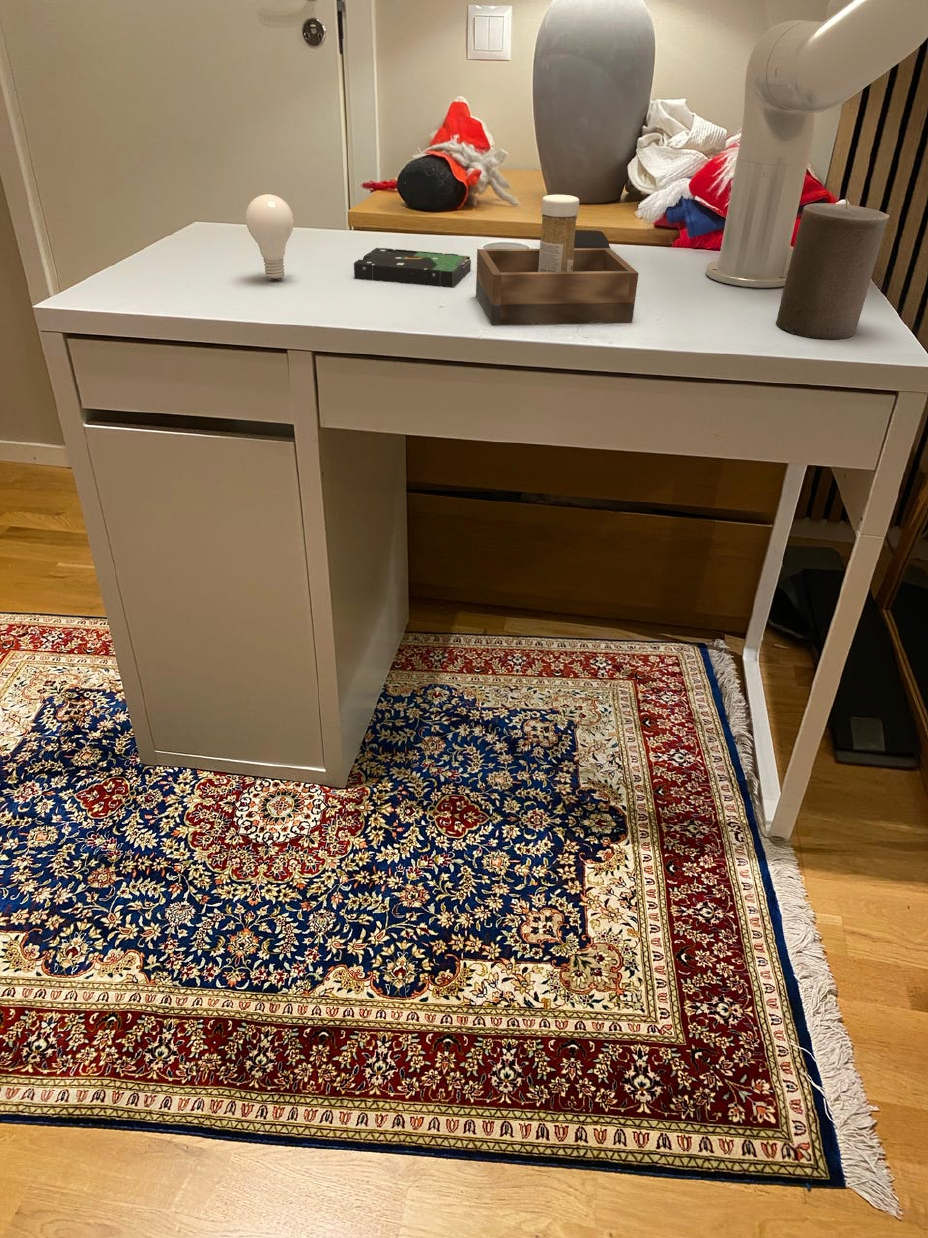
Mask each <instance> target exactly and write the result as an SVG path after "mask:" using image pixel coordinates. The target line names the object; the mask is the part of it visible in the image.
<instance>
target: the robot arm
mask: <svg viewBox="0 0 928 1238" xmlns="http://www.w3.org/2000/svg"><path fill="white" fill-rule="evenodd" d="M825 17H826V18H825V20H824V21H816V20H807V19H806V20H804V19H792V20H788V21H783V22H780V23H778V24H776V25H775V26H771V27H770V29H768V30H766V32H765V33H763V35H762V36H761V37H760V38H759V40H758V41H757V42H756V43H755V45H754V47H753V49H752V51H751V53H750V56H749V59H748V63H747V66H746V73H745V83H744V105H743V106H744V107H743V118H742V127H741V132H740V133H741V134H740V139H739V143H738V151H737V157H736V161H735V167H734V174H733V178H732V184H731V190H730V194H729V201H728V207H727V212H726V216H725V217H726V218H725V222H724V229H723V235H722V240H721V244H720V245H721V246H720V252H719V257H718V260H715V261H712V262H711V261H710V263H708V264H707V265H706V268H705V269H706V271H705V273H706V275H707V276H708V277H709V278H710V279H713V280H714V281H718V282H719V283H724V284H727V285H728V284H729V285H732V286H739V287H744V288H745V287H746V288H761V289H762V288H763V289H765V288H766V289H767V288H780V287H784V286H785V281H786V277H787V274H788V270H789V265H790V261H791V256H792V252H793V249H794V246H792V245H791V243H792V238H793V234H794V229H795V224H796V220H797V215H798V210H799V206H800V201H801V198H802V192H803V189H804V183H805V177H806V175H807V170H808V165H809V161H810V157H811V153H812V147H813V141H814V134H815V133H814V131H815V114H816V113H817V114H818V113H824V112H826V111H827V112H828V111H830V110H832V109H834V108H837V107H838V106H840V105H842V104H843V103H846V101H848V100H849V99H851V98H852V97H854V96H855V95H856V94H858V93H859V92H861V91H862V90H863V89H865V88H866V87H867V86H869V85H870V84H872V83H873V82H874V81H876V80H877V79H879V78H880V77H881V76H883V75H884V74H886V73H887V72H888V71H889V70H891V69H892V68H894V67H895V66H896V65H898V64H899V63H901V62H902V61H903V60H905V59H906V58H907V57H908V56H910V55H912V53H913V52H915V51H916V50H918V48H919V47H920V46H922V45H923V44H924V42H925V41H926V40H927V39H928V0H829V2H828V5H827V7H826V15H825Z"/></svg>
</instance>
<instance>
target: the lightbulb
mask: <svg viewBox="0 0 928 1238" xmlns="http://www.w3.org/2000/svg"><path fill="white" fill-rule="evenodd" d="M245 224H246V228H247V229H248V232H249V233H250V235H251V237H252V239H254V241H255V242H256V243H257V246H258V248H259V252H260V255H261V256H262V258H263V263H264V265H263V266H264V272H265V273H264V277H267V278H268V279H269V280H271V281H274V282H277V281H280V280H281V279H282V278H284V277H285V268H284V267H285V265H284V260H285V259H284V257H285V254H286V246H287V243H288V241H289V238H290V237H291V235H292V232H293V229H294V224H295V220H294V214H293V212H292V209H291V207H290V206H289V204H288V203H287V202H286V201H285V200H284V199H283V198H282V197H279V196H278V195H274V194H270V193H268V194H266V193H265V194H260V195H258V196H256V197H255V198H254V199H252V200H251V201H250V203H249V204H248V206H247V208H246V211H245Z"/></svg>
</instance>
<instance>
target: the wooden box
mask: <svg viewBox="0 0 928 1238" xmlns="http://www.w3.org/2000/svg"><path fill="white" fill-rule="evenodd" d="M610 248H611V247H610ZM610 248H574V259H573V272H538V269H539V254H540V248H477V252H476V274H475V275H476V280H475V281H476V283H475V298H476V299H477V301H478V302H479V304H480V307H481V308H482V310H483V312H484V315H485V316H486V317H487V320H488V322H489V324H490V325H491V326H512V325H515V326H517V325H518V326H519V325H520V326H521V325H522V326H523V325H524V326H525V325H527V326H528V325H566V324H567V325H569V324H572V325H574V324H575V325H576V324H618V323H621V324H622V323H623V324H626V323H633V319H634V314H635V313H634V311H635V304H636V296H637V288H638V280H639V272H638V271H637V270H636V269H635V268H633V266H631V265H630V264H629V263H628V262H627V261H625V259H623V258H622V257H621V256H619V254H617V253H616V252H615V251H614V249H612V248H611V249H610Z"/></svg>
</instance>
